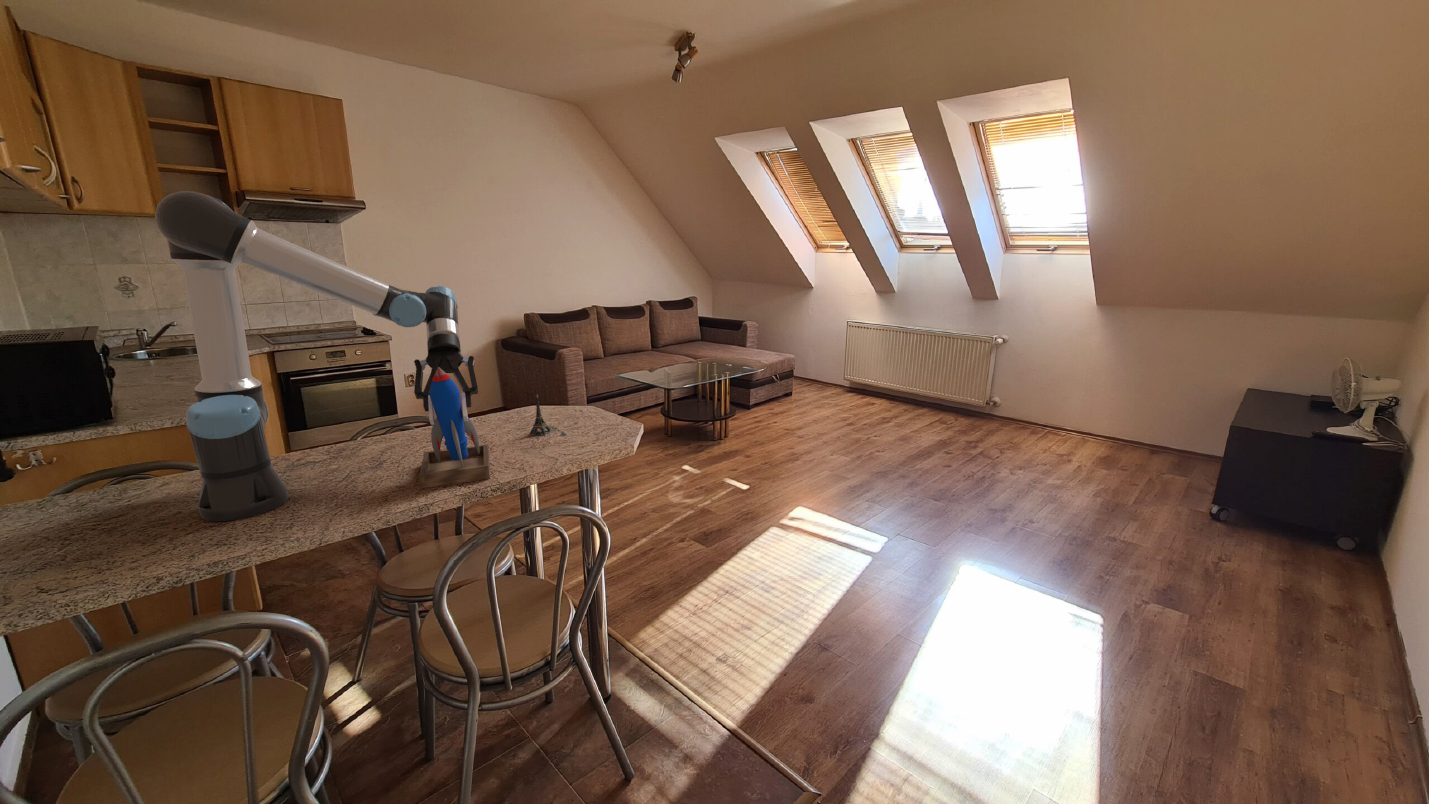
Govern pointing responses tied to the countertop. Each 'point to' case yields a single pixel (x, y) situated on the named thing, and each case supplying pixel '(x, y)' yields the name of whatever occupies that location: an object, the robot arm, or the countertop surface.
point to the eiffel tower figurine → (541, 424)
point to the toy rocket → (450, 419)
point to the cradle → (454, 467)
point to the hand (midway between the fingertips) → (448, 420)
